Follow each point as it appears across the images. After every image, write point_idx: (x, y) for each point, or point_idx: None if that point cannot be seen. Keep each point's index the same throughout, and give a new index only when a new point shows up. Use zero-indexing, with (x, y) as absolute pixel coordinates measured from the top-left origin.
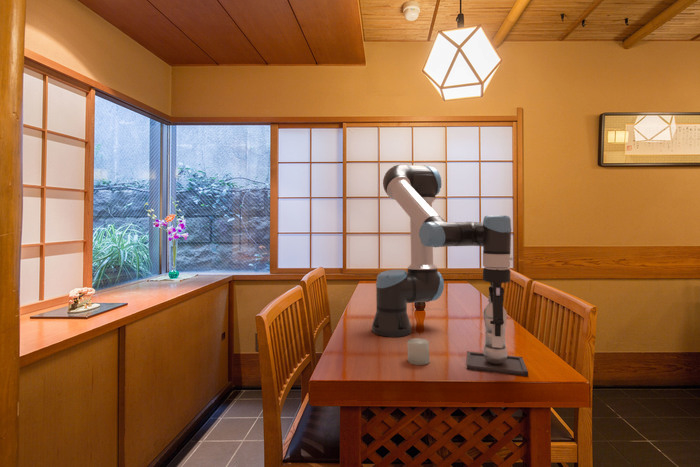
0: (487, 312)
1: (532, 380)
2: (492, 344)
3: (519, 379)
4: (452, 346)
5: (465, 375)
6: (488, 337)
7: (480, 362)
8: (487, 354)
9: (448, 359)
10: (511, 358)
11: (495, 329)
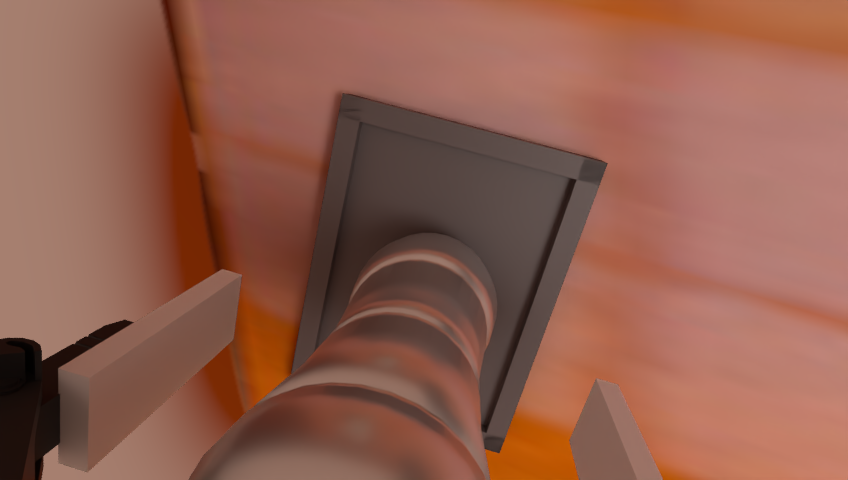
0: (229, 461)
1: (256, 375)
2: (210, 278)
3: (257, 325)
4: (812, 93)
5: (261, 63)
6: (363, 304)
7: (432, 202)
8: (384, 249)
9: (518, 2)
10: (498, 395)
11: (61, 353)
